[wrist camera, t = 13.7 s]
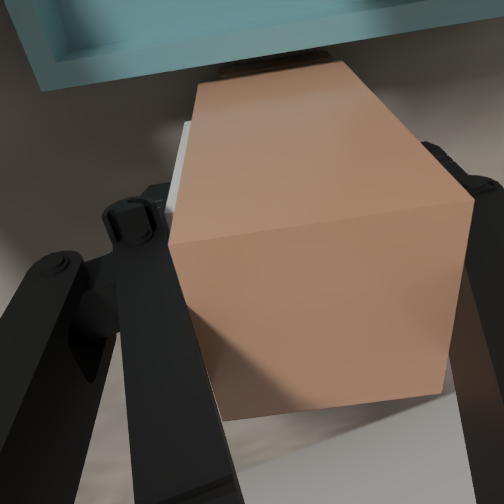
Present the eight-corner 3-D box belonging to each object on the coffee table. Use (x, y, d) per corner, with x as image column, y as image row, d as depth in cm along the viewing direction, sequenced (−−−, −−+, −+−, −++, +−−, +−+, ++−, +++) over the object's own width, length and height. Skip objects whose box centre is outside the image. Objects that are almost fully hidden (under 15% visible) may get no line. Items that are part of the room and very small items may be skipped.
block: (224, 206, 18) (222, 422, 10) (198, 83, 15) (168, 245, 7) (344, 188, 18) (441, 393, 10) (341, 59, 15) (475, 199, 7)
